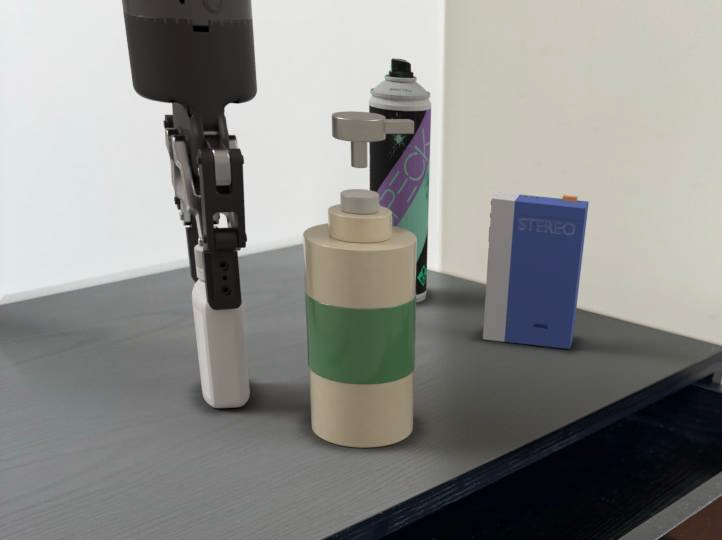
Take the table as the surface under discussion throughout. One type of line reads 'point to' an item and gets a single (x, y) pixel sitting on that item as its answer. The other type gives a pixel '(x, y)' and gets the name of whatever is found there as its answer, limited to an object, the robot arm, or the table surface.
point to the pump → (366, 131)
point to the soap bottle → (360, 323)
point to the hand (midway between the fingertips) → (216, 293)
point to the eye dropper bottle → (219, 347)
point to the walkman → (534, 269)
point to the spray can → (404, 159)
